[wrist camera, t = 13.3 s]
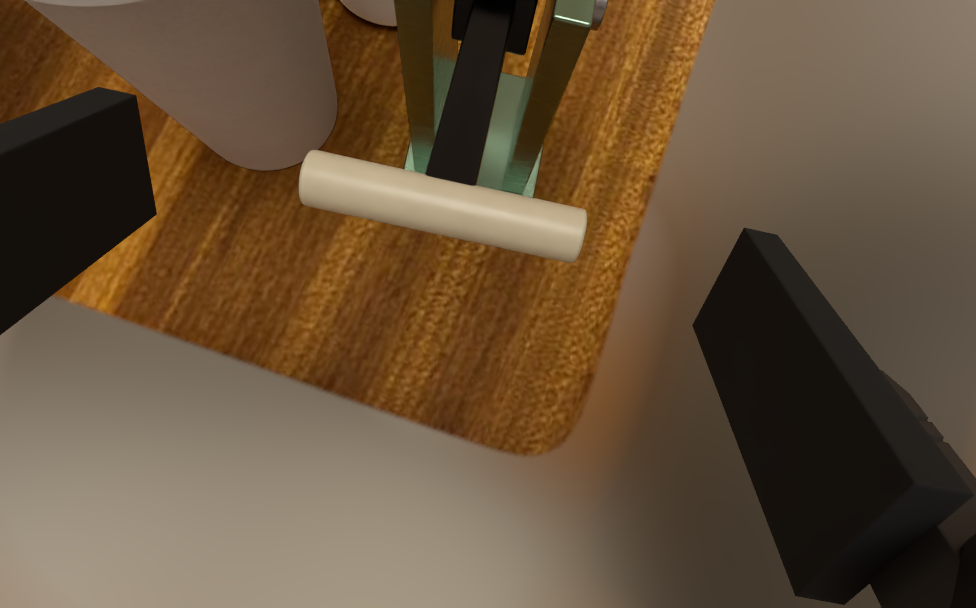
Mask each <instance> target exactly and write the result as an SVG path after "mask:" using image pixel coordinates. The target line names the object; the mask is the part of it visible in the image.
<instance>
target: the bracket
mask: <svg viewBox="0 0 976 608" xmlns="http://www.w3.org/2000/svg"><path fill="white" fill-rule="evenodd" d="M608 1H609V0H547V1H546V5H545V8H544V12H543V16H542V20H541V23H540V27H539V31H538V34H537V38H536V42H535V46H534V49H533V53H532V57H531V61H530V64H529V68H528V72H527V75H526V78H524V77H519V76H515V75H511V74H506V73H502V72H501V76H500V81H499V85H498V90H497V95H496V99H495V104H494V108H493V113H492V117H491V122H490V126H489V131H488V136H487V140H486V145H485V149H484V154H483V158H482V163H481V167H480V172H479V177H478V181H477V186H482V187H486V188H491V189H495V190H500V191H504V192H509V193H513V194H518V195H522V196H527V197H531V198H533V197H534V192H535V186H536V181H537V176H538V171H539V166H540V161H541V155H542V150H543V145H544V141H545V138H546V136H547V133H548V131H549V129H550V126H551V124H552V121H553V119H554V116H555V114H556V112H557V109H558V107H559V104H560V102H561V99H562V97H563V94H564V92H565V90H566V87H567V85H568V82H569V80H570V77H571V75H572V72H573V70H574V68H575V65H576V63H577V60H578V58H579V55H580V53H581V51H582V48H583V46H584V43H585V41H586V38H587V36H588V33H589V31H590V30H595V31H596V30H598V28H599V27H600V25H601V23H602V20H603V17H604V14H605V11H606V8H607V4H608ZM394 7H395V15H396V24H397V32H398V40H399V48H400V56H401V64H402V72H403V80H404V88H405V97H406V105H407V113H408V121H409V129H410V137H411V139H410V143H409V147H408V151H407V156H406V160H405V164H404V168H403V169H405V170H409V171H414V172H418V173H423V174H425V173H426V169H427V166H428V162H429V158H430V155H431V151H432V148H433V144H434V140H435V137H436V133H437V129H438V126H439V122H440V119H441V115H442V111H443V108H444V104H445V100H446V97H447V93H448V90H449V86H450V82H451V79H452V75H453V71H454V68H455V64H456V60H457V54H458V40H454V39H452V36H451V31H452V20H453V8H454V0H394Z"/></svg>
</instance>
